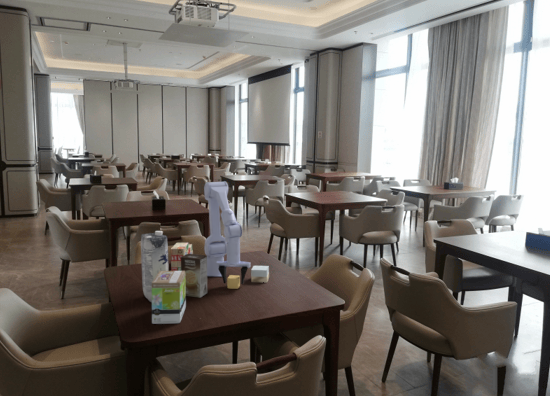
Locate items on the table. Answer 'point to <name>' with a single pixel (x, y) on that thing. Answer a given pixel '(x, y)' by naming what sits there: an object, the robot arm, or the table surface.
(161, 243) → the juice carton
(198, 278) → the coffee box
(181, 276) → the tea box
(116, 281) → the table surface
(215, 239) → the robot arm
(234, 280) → the mustard cube
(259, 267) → the grey-blue slab
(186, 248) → the red cream box
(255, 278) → the birch slab
